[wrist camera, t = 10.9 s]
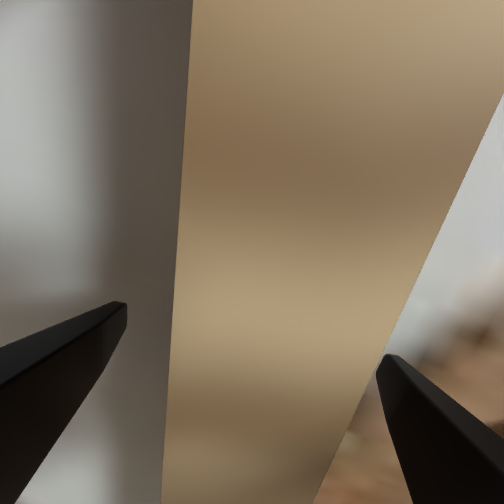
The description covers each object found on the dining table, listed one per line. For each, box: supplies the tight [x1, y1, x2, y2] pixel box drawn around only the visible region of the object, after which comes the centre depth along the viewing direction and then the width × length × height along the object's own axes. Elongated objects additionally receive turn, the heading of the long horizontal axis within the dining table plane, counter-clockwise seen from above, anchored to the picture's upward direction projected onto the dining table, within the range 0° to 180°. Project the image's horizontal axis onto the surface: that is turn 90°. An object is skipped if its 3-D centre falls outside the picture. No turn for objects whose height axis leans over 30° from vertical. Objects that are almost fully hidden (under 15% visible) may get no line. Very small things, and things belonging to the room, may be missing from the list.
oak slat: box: [160, 0, 504, 504], centre depth 8 cm, size 26×4×5 cm, turn 170°
